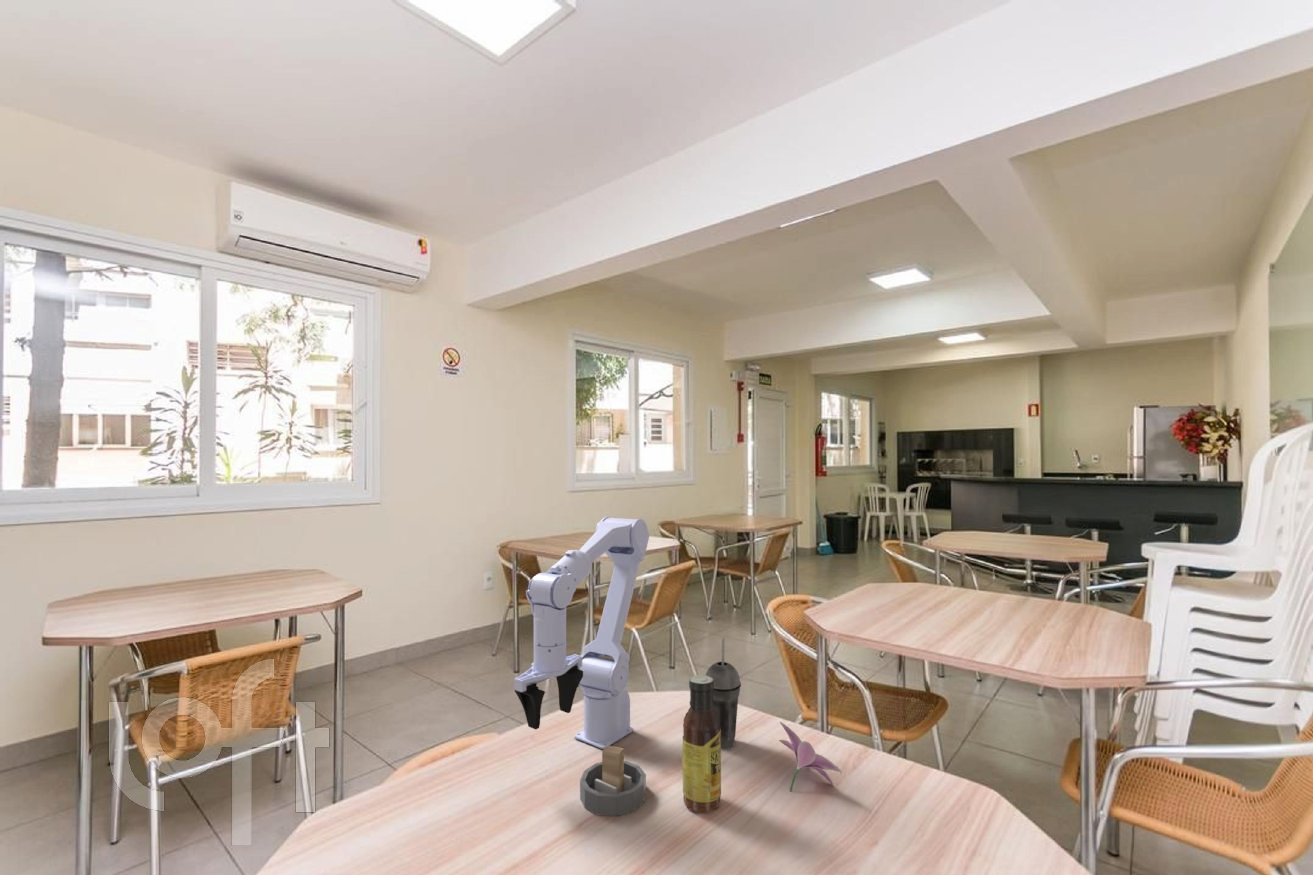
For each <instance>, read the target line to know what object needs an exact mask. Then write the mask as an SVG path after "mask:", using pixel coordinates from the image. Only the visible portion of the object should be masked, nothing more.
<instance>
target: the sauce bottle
mask: <svg viewBox="0 0 1313 875" xmlns="http://www.w3.org/2000/svg"><path fill="white" fill-rule="evenodd" d="M688 682H689V684H688V688H689V692H690V693H689V696H690V698H689V699H690V700H689V705H690V706H689V708H688V710H687V712H686V713H685V716H684V718H683V724H682V727H683V728H682V729H683V730H682V732H683V736H682V793H683V794H682V795H683V803H684V805H685V806H686V808H688V810H691V811H693V812H695V813H696V812H697V813H704V814H705V813H709V812H713V811H715V810H716V809H717V808H718V807H719V806H720V803H721V795H722V749H721V727H720V725H719V722H718V719H717V716H716V713H715V710H714V707H713V688H714V680H713V678H711V677H709V676H706V674H698V675H697V674H696V675H692V676H691V677H689V680H688Z"/></svg>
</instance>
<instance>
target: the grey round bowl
mask: <svg viewBox="0 0 1313 875" xmlns="http://www.w3.org/2000/svg"><path fill="white" fill-rule="evenodd" d="M579 787H580V788H579V800H580V802H581V804H582V806H583V807H584V809H585V810H588V812H589V811H590V812H592V813H593V814H595V815H598V816H611V817H618V816H622V815H625V814H628V813H632V812H634V811H635V810H637V809H638V808H639V807H640V806H642V805H643V804H644V803H645V800H646V794H647V774H646V773H645V771H644V770H643V768H642V767H641V766H640V765H637V764H635V763H633V762H631V761H627V760H624V791H623V792H620V793H617V787H615V786H612V785H610V784H608V783H606V782H603V781H602V761H600V762H596V763H594V764H593V765H590V766H589V767H588V768H586V769H585V770H584V771H583V773H582V775H581V778H580V780H579Z"/></svg>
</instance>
